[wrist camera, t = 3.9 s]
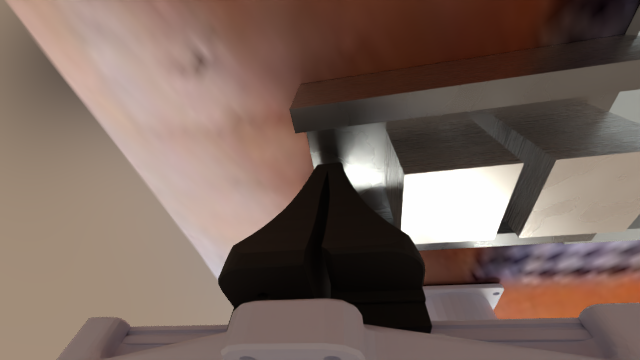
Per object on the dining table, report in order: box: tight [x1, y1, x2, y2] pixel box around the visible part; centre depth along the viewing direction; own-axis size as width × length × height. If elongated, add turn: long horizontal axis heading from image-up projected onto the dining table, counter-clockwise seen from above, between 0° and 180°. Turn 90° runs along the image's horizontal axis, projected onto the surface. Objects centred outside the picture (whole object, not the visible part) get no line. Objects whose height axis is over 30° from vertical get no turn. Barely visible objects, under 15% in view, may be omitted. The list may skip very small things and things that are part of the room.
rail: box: [290, 34, 640, 251], centre depth 12 cm, size 9×14×4 cm, turn 99°
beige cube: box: [489, 104, 640, 238], centre depth 11 cm, size 4×4×4 cm
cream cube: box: [386, 119, 524, 244], centre depth 11 cm, size 4×4×4 cm
